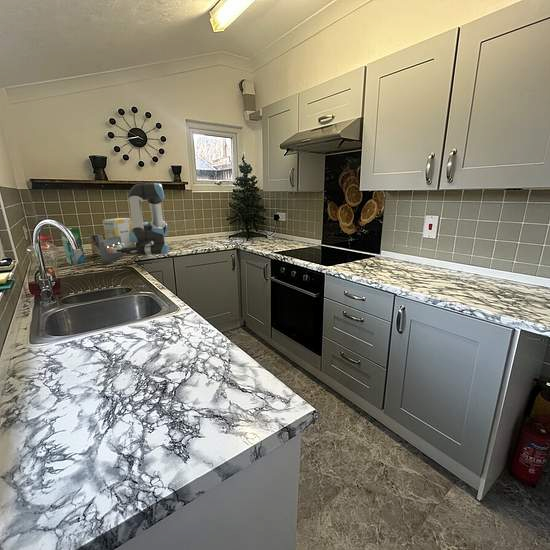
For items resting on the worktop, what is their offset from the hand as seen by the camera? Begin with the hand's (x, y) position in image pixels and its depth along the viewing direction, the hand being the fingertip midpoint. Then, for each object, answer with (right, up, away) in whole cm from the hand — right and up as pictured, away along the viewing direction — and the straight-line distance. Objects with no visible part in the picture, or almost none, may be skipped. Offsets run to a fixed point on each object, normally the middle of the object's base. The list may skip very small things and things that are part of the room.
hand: (113, 250), depth 212 cm
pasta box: (-11, 0, +34) cm, 36 cm away
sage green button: (-2, +3, +16) cm, 16 cm away
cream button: (0, 0, +8) cm, 8 cm away
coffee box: (-28, -1, +31) cm, 42 cm away
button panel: (-7, -6, +10) cm, 14 cm away
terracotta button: (-2, -2, +1) cm, 3 cm away
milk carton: (-29, -9, +5) cm, 31 cm away
